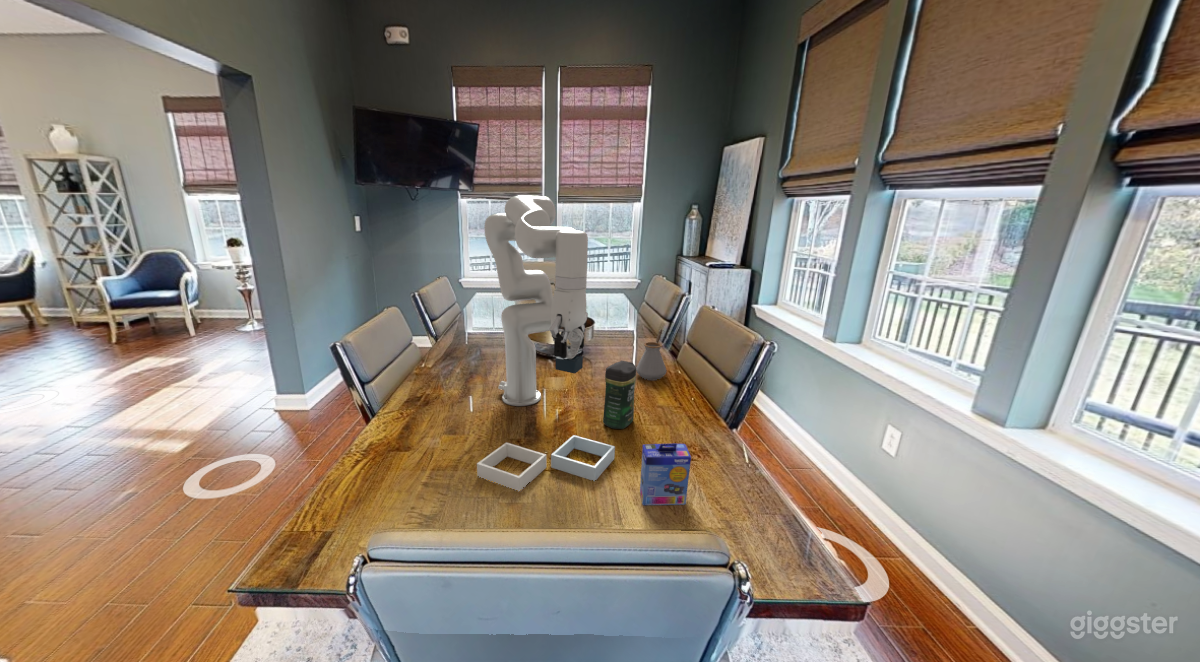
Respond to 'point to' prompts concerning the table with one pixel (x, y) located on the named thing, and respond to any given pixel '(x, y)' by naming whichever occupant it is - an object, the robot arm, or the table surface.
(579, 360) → the watch
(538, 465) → the tray near
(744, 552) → the table surface
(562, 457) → the tray far
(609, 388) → the coffee jar
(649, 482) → the ink cartridge box
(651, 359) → the coffee pot
